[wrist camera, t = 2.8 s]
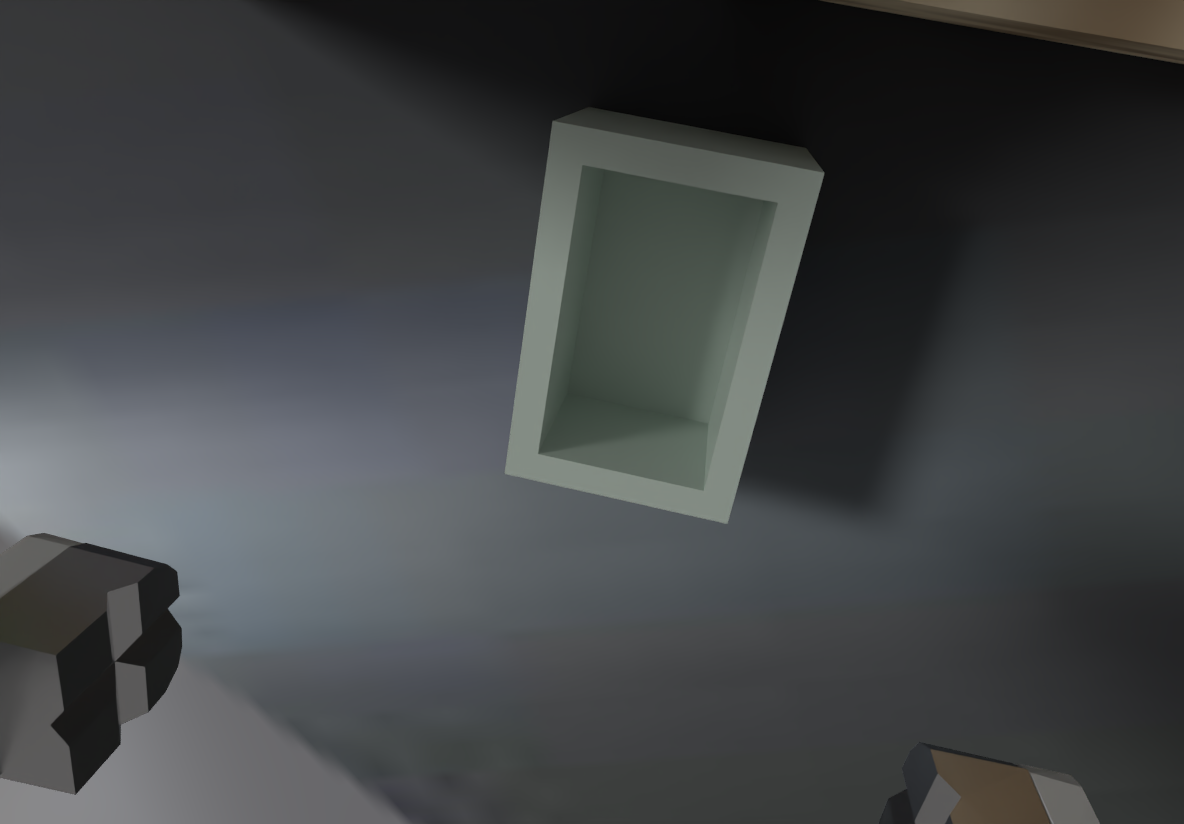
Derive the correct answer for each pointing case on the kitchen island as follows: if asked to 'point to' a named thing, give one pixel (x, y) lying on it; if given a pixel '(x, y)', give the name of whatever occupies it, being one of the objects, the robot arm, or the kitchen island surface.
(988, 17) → the big crate
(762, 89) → the kitchen island surface
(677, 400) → the box
